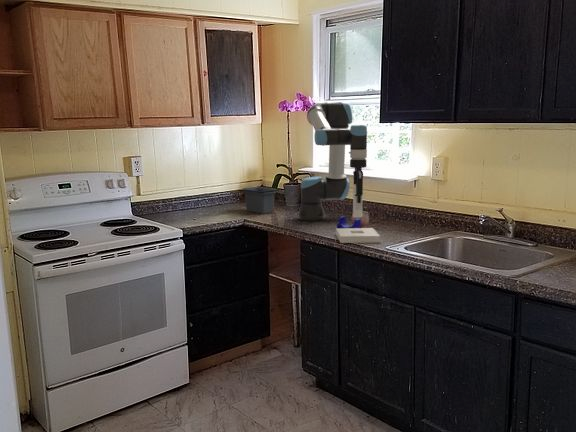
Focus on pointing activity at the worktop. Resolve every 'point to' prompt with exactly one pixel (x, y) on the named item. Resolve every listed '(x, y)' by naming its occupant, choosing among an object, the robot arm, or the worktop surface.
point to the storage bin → (259, 199)
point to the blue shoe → (344, 224)
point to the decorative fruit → (362, 219)
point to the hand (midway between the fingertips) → (357, 208)
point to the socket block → (357, 235)
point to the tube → (355, 212)
